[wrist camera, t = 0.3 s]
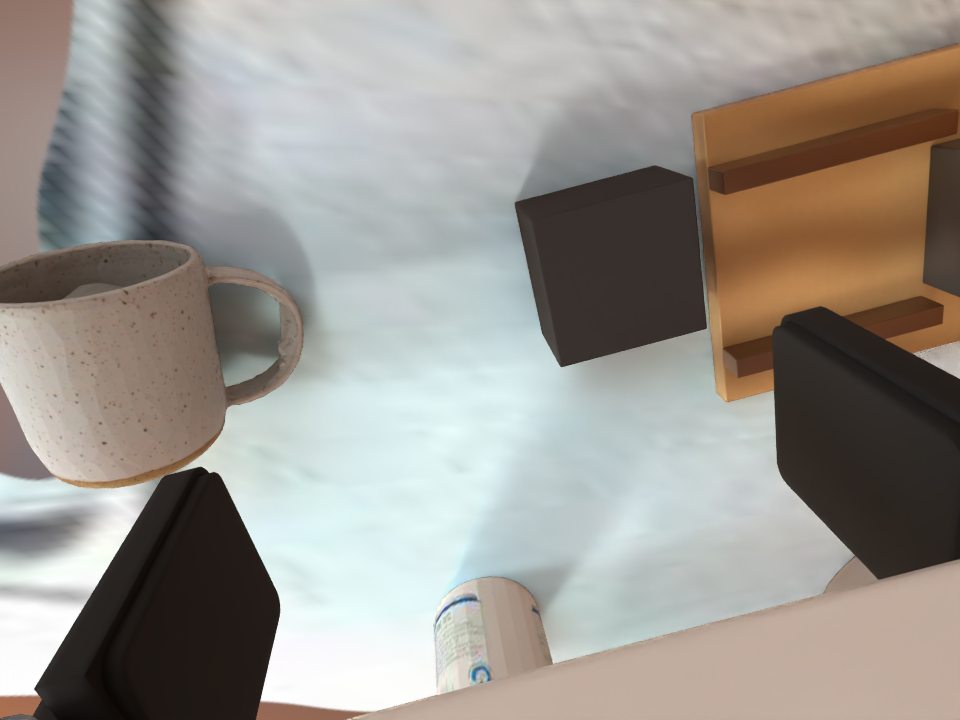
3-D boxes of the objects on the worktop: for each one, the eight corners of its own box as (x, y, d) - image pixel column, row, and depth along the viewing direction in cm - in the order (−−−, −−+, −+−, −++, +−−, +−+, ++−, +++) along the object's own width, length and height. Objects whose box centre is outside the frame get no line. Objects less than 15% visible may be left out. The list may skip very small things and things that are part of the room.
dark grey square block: (513, 202, 28) (530, 220, 24) (656, 164, 28) (693, 177, 24) (541, 334, 31) (560, 368, 27) (671, 299, 31) (707, 329, 27)
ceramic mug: (90, 417, 30) (-1, 520, 23) (30, 246, 27) (-98, 305, 20) (319, 393, 31) (299, 485, 24) (289, 225, 28) (255, 274, 21)
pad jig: (690, 113, 27) (737, 118, 24) (1115, 1, 28) (1230, -12, 24) (716, 392, 33) (756, 433, 29) (1066, 299, 33) (1152, 327, 29)
